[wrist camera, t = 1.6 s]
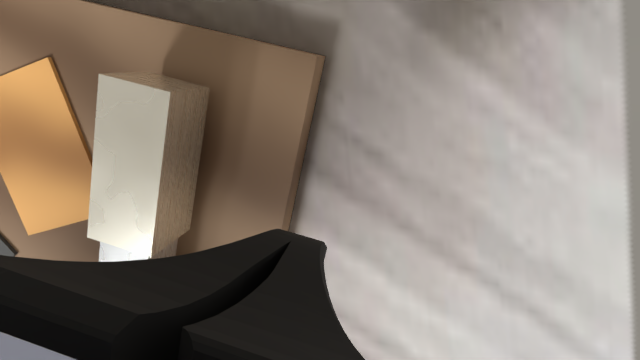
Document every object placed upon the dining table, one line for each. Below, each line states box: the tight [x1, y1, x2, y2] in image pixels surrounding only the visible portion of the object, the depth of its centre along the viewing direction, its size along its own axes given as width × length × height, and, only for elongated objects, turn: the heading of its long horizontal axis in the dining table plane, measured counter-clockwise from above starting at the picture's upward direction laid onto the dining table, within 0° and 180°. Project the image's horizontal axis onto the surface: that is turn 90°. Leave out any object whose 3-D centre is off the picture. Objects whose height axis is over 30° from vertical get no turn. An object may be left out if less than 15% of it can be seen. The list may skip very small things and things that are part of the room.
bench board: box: [0, 0, 325, 262], centre depth 22 cm, size 20×24×2 cm
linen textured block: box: [87, 72, 210, 262], centre depth 19 cm, size 18×4×4 cm, turn 168°
